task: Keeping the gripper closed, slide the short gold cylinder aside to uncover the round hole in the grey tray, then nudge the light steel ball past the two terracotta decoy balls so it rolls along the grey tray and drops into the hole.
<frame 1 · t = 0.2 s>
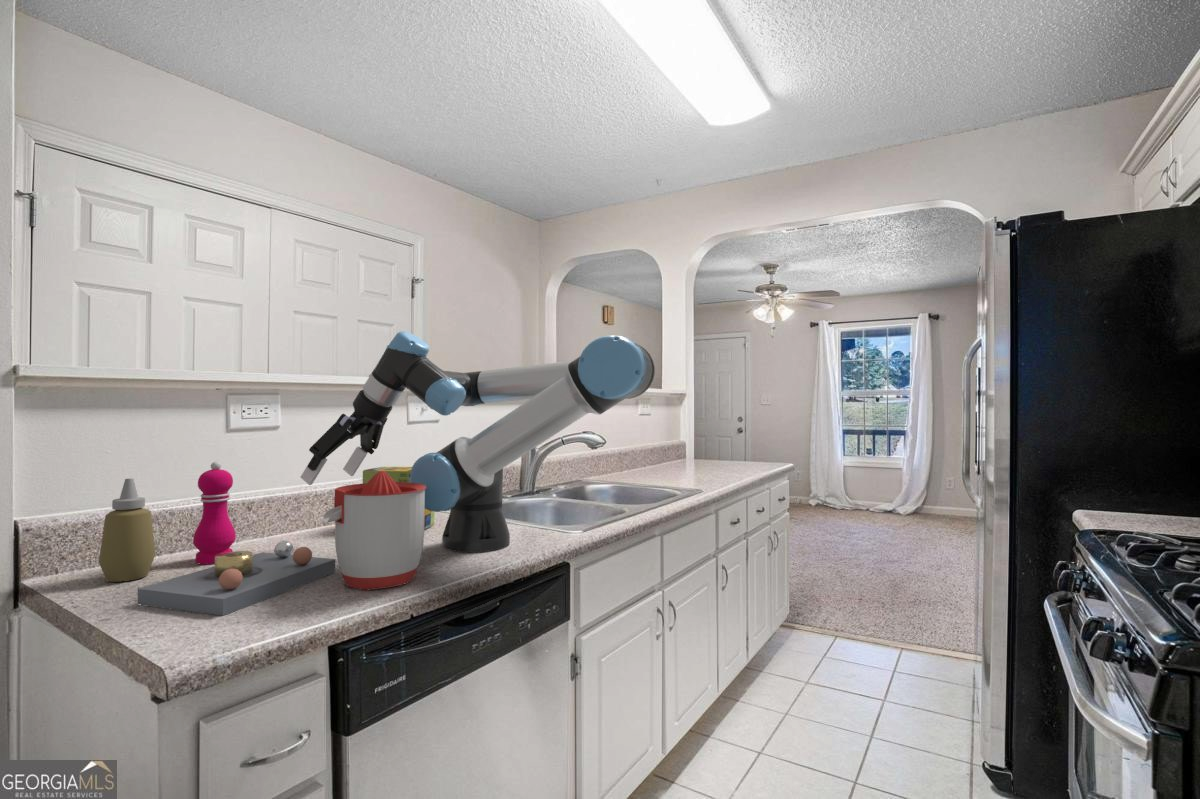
hand: (327, 476, 129), 16 cm above the worktop, tool tilted 35°, fingers open, 13 cm apart
decoy b: (230, 579, 92), point 4 cm above the worktop, touching grey tray
short gold cylinder: (233, 563, 101), point 4 cm above the worktop, slide at 0.0 cm
protein box: (399, 529, 151), on the worktop
ball: (283, 549, 112), point 4 cm above the worktop, touching grey tray
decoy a: (302, 555, 107), point 4 cm above the worktop, touching grey tray
squeeze bottle: (127, 579, 106), on the worktop
grey tray: (245, 587, 102), on the worktop
citrus juicer: (375, 583, 105), on the worktop
pepper mill: (214, 561, 119), on the worktop
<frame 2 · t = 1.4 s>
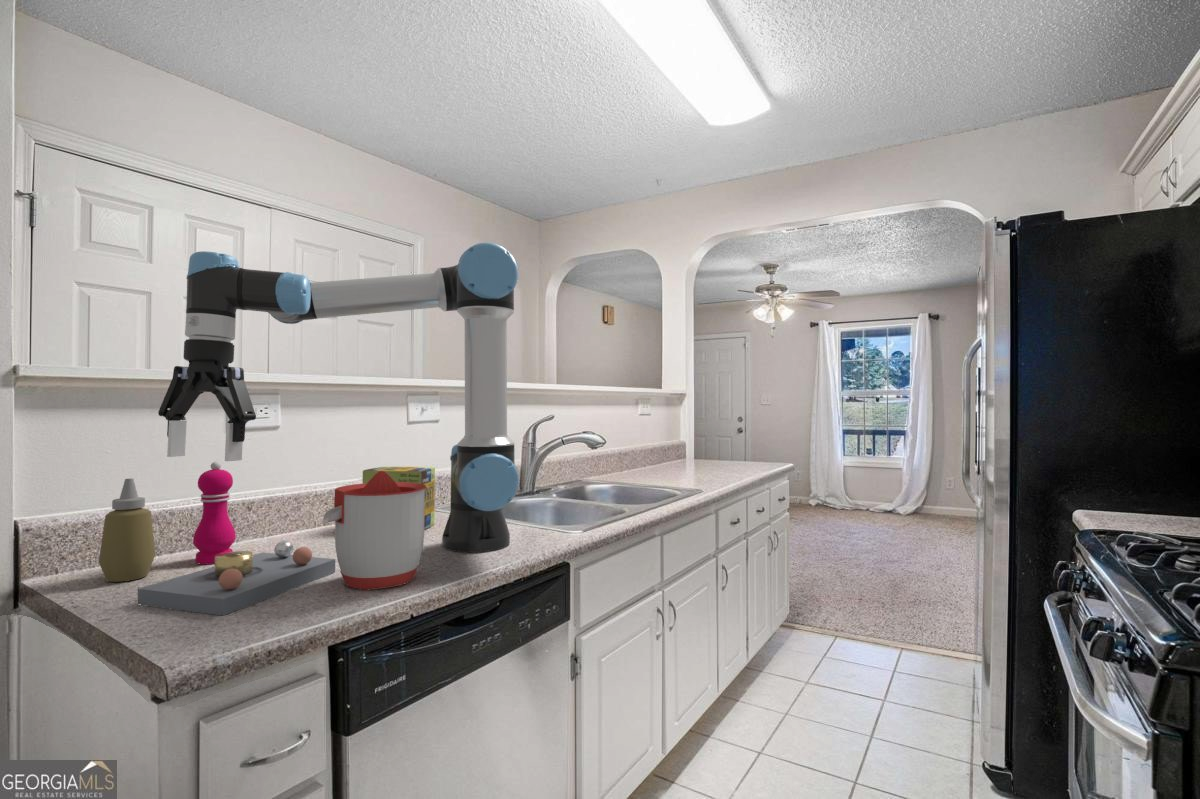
hand: (204, 458, 105), 22 cm above the worktop, tool pointing down, fingers open, 13 cm apart
nothing on the worktop moved.
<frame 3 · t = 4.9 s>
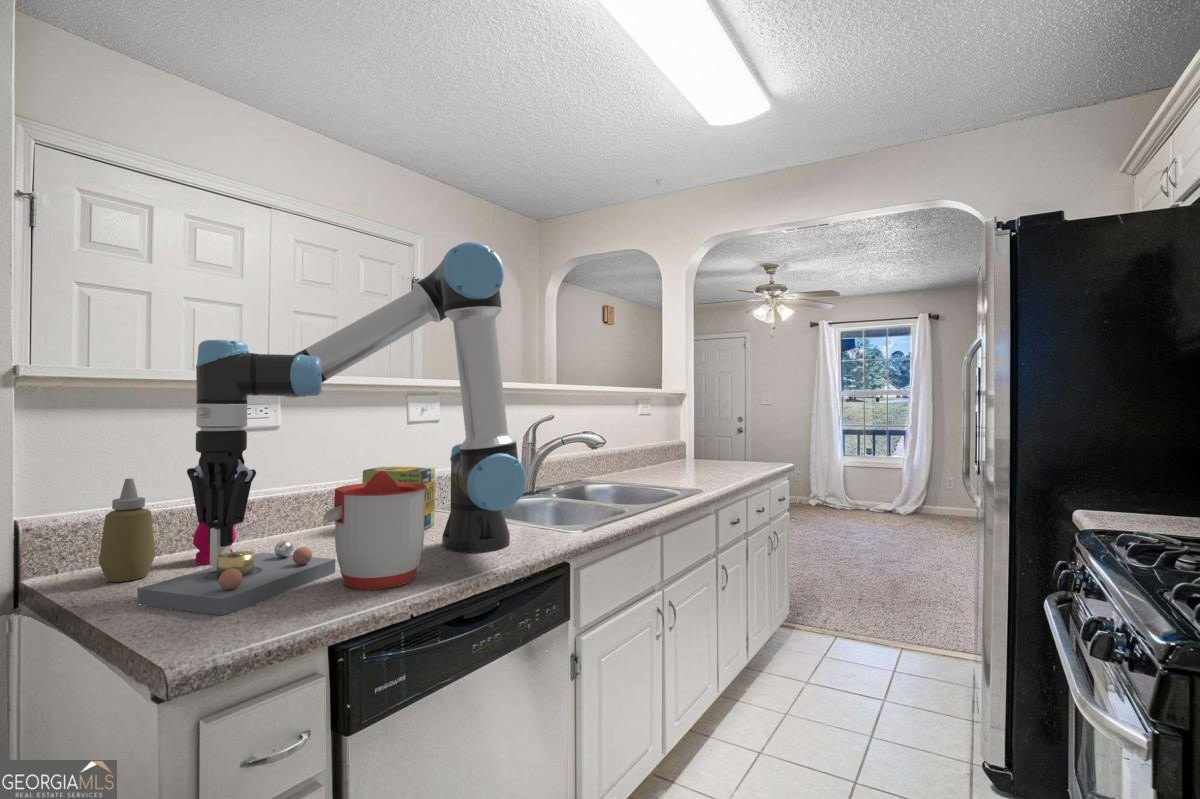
hand: (220, 564, 102), 4 cm above the worktop, tool pointing down, fingers closed
short gold cylinder: (235, 563, 101), point 4 cm above the worktop, slide at 0.4 cm, touching gripper
everything else where it was.
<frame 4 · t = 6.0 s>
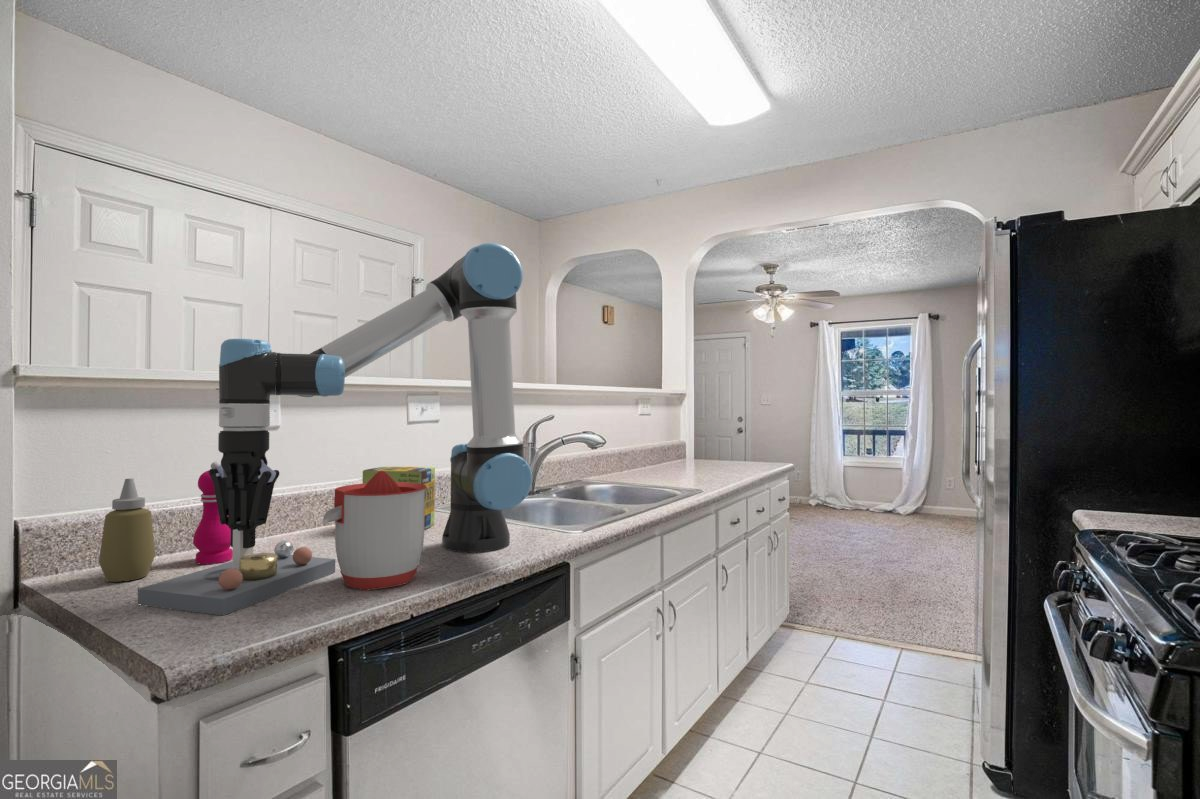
hand: (242, 566, 101), 4 cm above the worktop, tool pointing down, fingers closed
short gold cylinder: (258, 565, 100), point 4 cm above the worktop, slide at 5.3 cm, touching gripper
everything else where it was.
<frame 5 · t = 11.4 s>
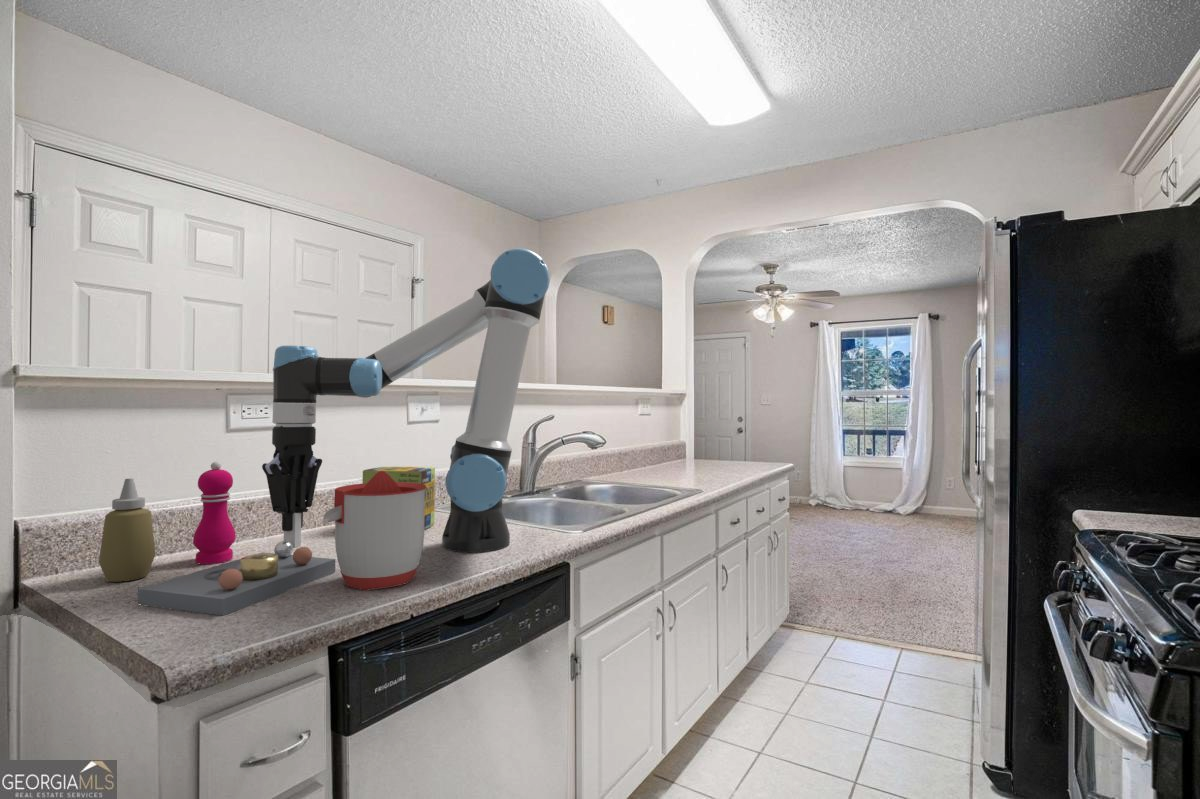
hand: (292, 546, 114), 4 cm above the worktop, tool pointing down, fingers closed
short gold cylinder: (259, 565, 100), point 4 cm above the worktop, slide at 5.4 cm
ball: (283, 549, 112), point 4 cm above the worktop, touching grey tray, gripper
everything else where it was.
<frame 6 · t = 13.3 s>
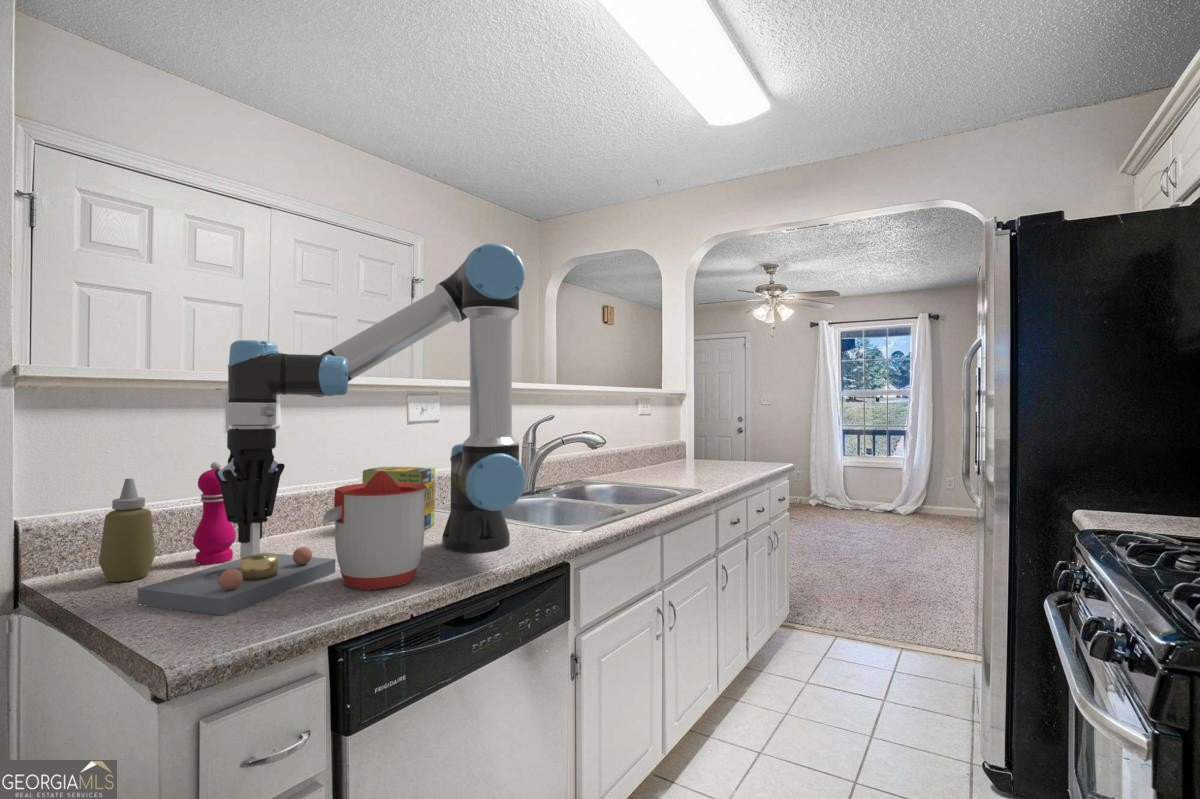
hand: (249, 559, 104), 4 cm above the worktop, tool pointing down, fingers closed
ball: (230, 579, 101), point 2 cm above the worktop, tilted 90°
everything else where it was.
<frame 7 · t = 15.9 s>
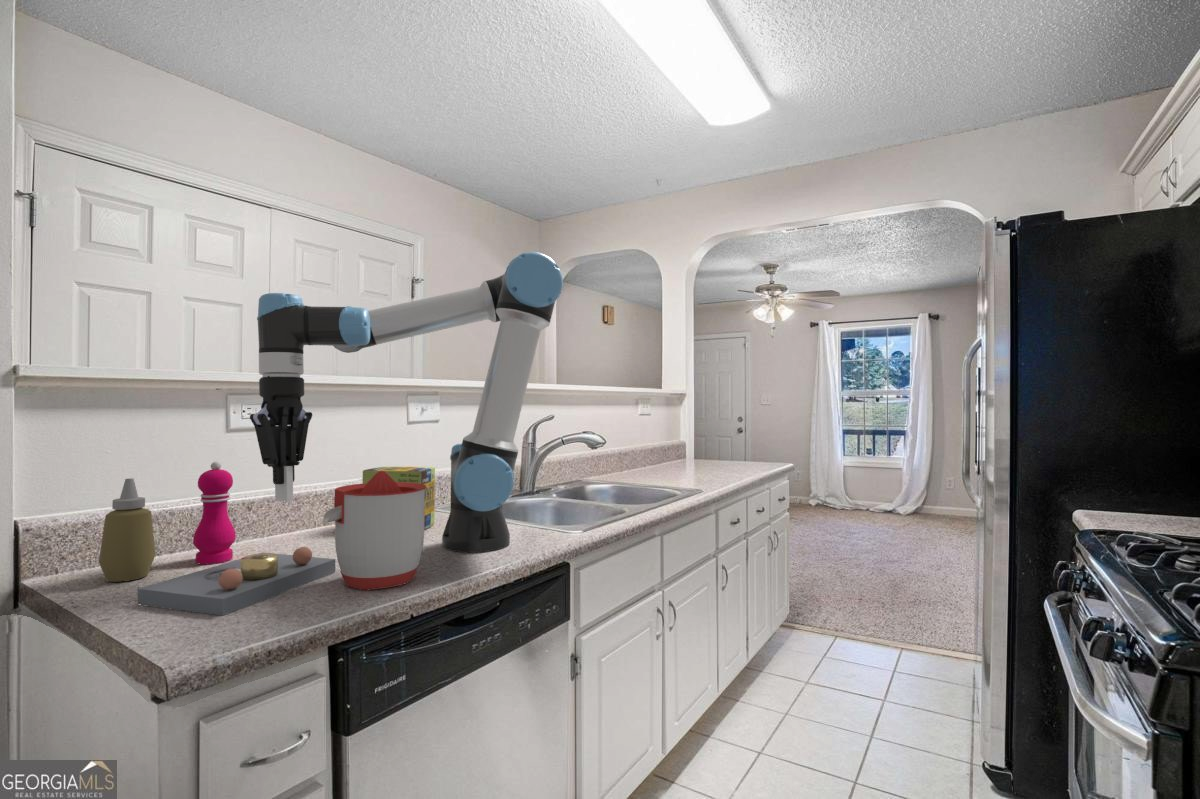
hand: (284, 500, 111), 13 cm above the worktop, tool pointing down, fingers closed
ball: (234, 578, 101), point 2 cm above the worktop, tilted 60°
everything else where it was.
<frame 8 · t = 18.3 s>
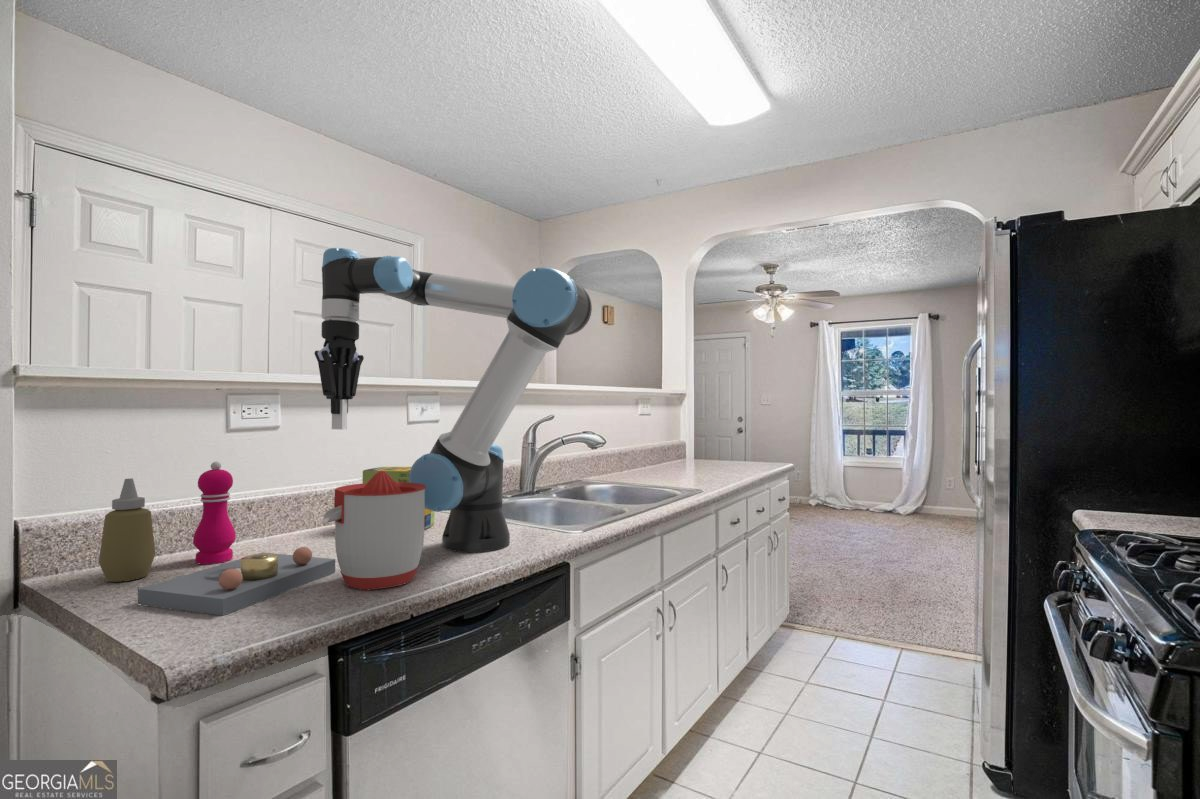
hand: (339, 429, 128), 26 cm above the worktop, tool pointing down, fingers closed
ball: (236, 577, 102), point 2 cm above the worktop, tilted 48°
everything else where it was.
at the end: ball 0.6 cm from the target spot in the grey tray, point 1.6 cm above the grey tray's base; short gold cylinder slide at 5.4 cm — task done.
